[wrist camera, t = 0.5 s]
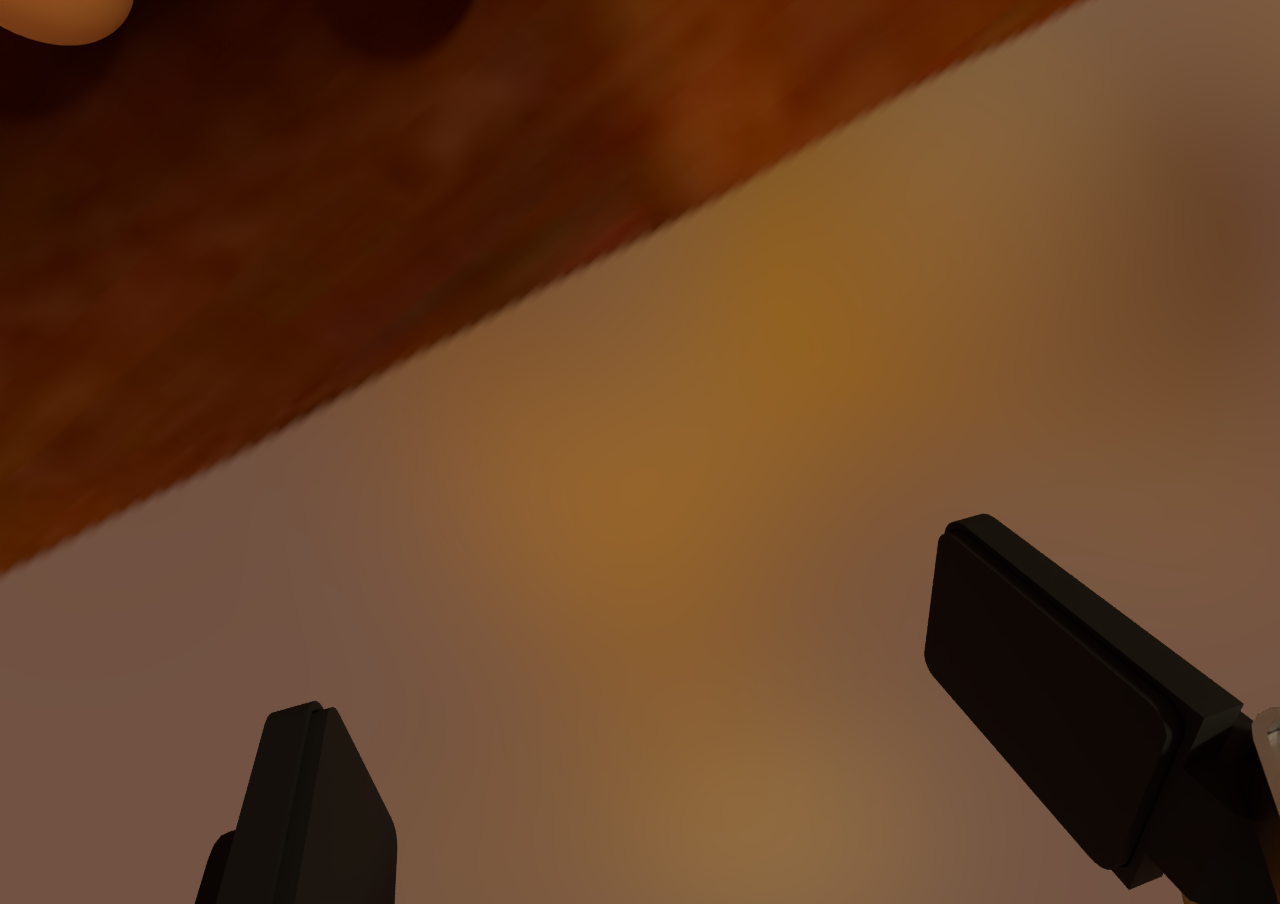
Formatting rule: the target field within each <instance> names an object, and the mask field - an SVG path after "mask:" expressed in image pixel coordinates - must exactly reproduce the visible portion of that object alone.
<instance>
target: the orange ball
mask: <svg viewBox="0 0 1280 904" xmlns="http://www.w3.org/2000/svg"><path fill="white" fill-rule="evenodd" d="M133 1H134V0H0V26H1V27H3V28H5V29H7V30H9V31H11V32H13V33H15V34H18V35H21V36H23V37H26V38H29V39H32V40H36V41H39V42H43V43H47V44H54V45H83V44H88V43H92V42H96V41H98V40H100V39H102V38H105V37H107V36H109V35H110V34H111V33H113V32H114V31H116V30H117V29H118V28H119V27H120V26H121V25H122V24H123V22H124V21H125V19H126V18H127V16H128V14H129V12H130V10H131V8H132V4H133Z"/></svg>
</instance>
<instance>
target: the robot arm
mask: <svg viewBox="0 0 1280 904" xmlns="http://www.w3.org/2000/svg"><path fill="white" fill-rule="evenodd" d="M934 572H935V573H934V579H933V587H932V595H931V604H930V612H929V619H928V627H927V635H926V643H925V651H924V657H925V661H926V664H927V667H928V669H929V671H930V672H931V674H932V675H933V677H934V678H935V679H936V680H937V681H938V682H939V684H940V685H941V686H942V687H943V688H944V689H945V691H946V692H947V693H948V694H949V695H950V696H951V697H952V699H953V700H954V701H955V702H956V703H957V704H958V706H959V707H960V708H961V709H962V710H963V711H964V712H965V714H966V715H967V716H968V717H969V718H970V719H971V721H972V722H973V723H974V724H975V725H976V726H977V728H978V729H979V730H980V731H981V732H982V733H983V734H984V736H985V737H986V738H987V739H988V740H989V741H990V743H991V744H992V745H993V746H994V747H995V748H996V750H997V751H998V752H999V753H1000V754H1001V755H1002V756H1003V757H1004V759H1005V760H1006V761H1007V762H1008V763H1009V764H1010V766H1011V767H1012V768H1013V769H1014V770H1015V771H1016V773H1017V774H1018V775H1019V776H1020V777H1021V778H1022V779H1023V781H1024V782H1025V783H1026V784H1027V785H1028V786H1029V787H1030V789H1031V790H1032V791H1033V792H1034V793H1035V795H1036V796H1037V797H1038V798H1039V799H1040V800H1041V802H1042V803H1043V804H1044V805H1045V806H1046V807H1047V808H1048V809H1049V811H1050V812H1051V813H1052V814H1053V815H1054V816H1055V818H1056V819H1057V820H1058V821H1059V822H1060V824H1061V825H1062V826H1063V827H1064V828H1065V829H1066V830H1067V832H1068V833H1069V834H1070V835H1071V836H1072V837H1073V839H1074V840H1075V841H1076V842H1077V843H1078V844H1079V845H1080V847H1081V848H1082V849H1083V850H1084V851H1085V852H1086V853H1087V855H1088V856H1089V857H1090V858H1091V859H1092V860H1093V861H1094V862H1095V863H1096V864H1098V865H1099V866H1100V867H1102V868H1104V869H1107V870H1112V871H1113V872H1114V873H1115V875H1116V876H1117V877H1118V878H1119V879H1120V880H1121V881H1122V882H1123V884H1124V885H1125V886H1126V887H1127V888H1128V889H1129V890H1130V889H1132V888H1135V887H1137V886H1140V885H1142V884H1144V883H1147V882H1149V881H1152V880H1154V879H1157V878H1159V877H1162V875H1163V873H1164V874H1165V875H1166V876H1167V877H1168V878H1169V879H1170V880H1171V881H1172V882H1173V883H1174V884H1175V886H1176V887H1177V888H1179V890H1180V891H1181V893H1182V898H1183V903H1184V904H1280V707H1272V708H1269V709H1267V710H1265V711H1263V712H1261V713H1259V714H1257V716H1256V718H1255V719H1254V721H1253V720H1251V719H1250V718H1249V717H1247V716H1246V715H1245V714H1243V713H1242V712H1241V709H1242V707H1243V703H1242V702H1241V701H1239V700H1238V699H1237V698H1235V697H1234V696H1233V695H1231V694H1230V693H1229V692H1227V691H1226V690H1225V689H1223V688H1222V687H1221V686H1219V685H1218V684H1217V683H1215V682H1214V681H1213V680H1211V679H1210V678H1208V677H1207V676H1206V675H1204V674H1203V673H1202V672H1200V671H1199V670H1198V669H1196V668H1195V667H1194V666H1192V665H1191V664H1190V663H1188V662H1187V661H1186V660H1184V659H1183V658H1182V657H1180V656H1179V655H1177V654H1176V653H1175V652H1174V651H1172V650H1171V649H1170V648H1168V647H1167V646H1166V645H1164V644H1163V643H1161V642H1160V641H1159V640H1158V639H1156V638H1155V637H1154V636H1152V635H1151V634H1149V633H1148V632H1147V631H1145V630H1144V629H1143V628H1141V627H1140V626H1139V625H1137V624H1136V623H1134V622H1133V621H1132V620H1131V619H1129V618H1128V617H1126V616H1125V615H1124V614H1122V613H1121V612H1120V611H1119V610H1117V609H1116V608H1115V607H1113V606H1112V605H1111V604H1109V603H1108V602H1107V601H1105V600H1104V599H1103V598H1101V597H1100V596H1098V595H1097V594H1096V593H1094V592H1093V591H1092V590H1090V589H1089V588H1088V587H1086V586H1085V585H1084V584H1082V583H1081V582H1080V581H1078V580H1077V579H1076V578H1074V577H1073V576H1072V575H1070V574H1069V573H1068V572H1066V571H1065V570H1064V569H1062V568H1061V567H1060V566H1058V565H1057V564H1056V563H1054V562H1053V561H1052V560H1050V559H1049V558H1048V557H1046V556H1045V555H1044V554H1042V553H1040V551H1038V550H1037V549H1036V548H1034V547H1033V546H1031V545H1030V544H1029V543H1028V542H1026V541H1025V540H1023V539H1022V538H1021V537H1019V536H1018V535H1017V534H1015V533H1014V532H1013V531H1011V530H1010V529H1009V528H1007V527H1006V526H1005V525H1003V524H1002V523H1001V522H999V521H998V520H997V519H995V518H994V517H992V516H990V515H988V514H980V515H976V516H972V517H969V518H966V519H962V520H958V521H955V522H952V523H949V524H948V526H947V527H946V530H945V533H944V534H943V535H941V536H940V538H939V541H938V547H937V555H936V563H935V571H934ZM396 864H397V837H396V830H395V827H394V823H393V821H392V819H391V817H390V815H389V813H388V811H387V809H386V807H385V805H384V803H383V801H382V799H381V797H380V795H379V793H378V791H377V789H376V787H375V785H374V783H373V781H372V779H371V777H370V775H369V773H368V771H367V769H366V767H365V765H364V763H363V761H362V759H361V757H360V755H359V753H358V751H357V749H356V747H355V745H354V743H353V741H352V739H351V737H350V735H349V733H348V731H347V729H346V727H345V725H344V723H343V721H342V719H341V717H340V715H339V713H338V711H337V710H336V708H334V707H332V708H328V709H323V707H322V706H321V704H320V703H319V702H317V701H312V702H309V703H305V704H302V705H298V706H295V707H291V708H287V709H284V710H280V711H277V712H273V713H271V714H270V715H269V716H268V717H267V720H266V722H265V725H264V729H263V732H262V736H261V740H260V743H259V747H258V751H257V754H256V758H255V762H254V765H253V769H252V772H251V776H250V780H249V783H248V787H247V791H246V794H245V798H244V802H243V805H242V809H241V812H240V816H239V820H238V823H237V827H236V830H234V831H230V832H228V833H226V834H224V835H222V836H220V838H219V839H218V840H217V842H216V843H215V844H214V846H213V849H212V851H211V853H210V856H209V859H208V861H207V865H206V868H205V871H204V875H203V878H202V881H201V885H200V888H199V891H198V895H197V898H196V901H195V904H394V903H395V884H396Z"/></svg>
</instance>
